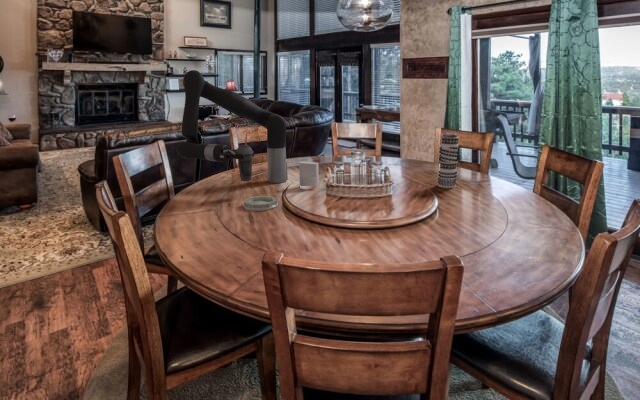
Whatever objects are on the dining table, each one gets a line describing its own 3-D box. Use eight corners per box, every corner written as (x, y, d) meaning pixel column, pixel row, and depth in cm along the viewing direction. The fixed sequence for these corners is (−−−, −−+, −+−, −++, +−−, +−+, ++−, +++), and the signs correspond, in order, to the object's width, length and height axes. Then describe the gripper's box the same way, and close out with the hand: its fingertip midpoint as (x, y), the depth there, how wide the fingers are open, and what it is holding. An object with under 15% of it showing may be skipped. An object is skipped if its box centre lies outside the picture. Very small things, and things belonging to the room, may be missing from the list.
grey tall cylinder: (458, 184, 213) (462, 132, 206) (455, 189, 205) (459, 135, 198) (438, 182, 217) (442, 131, 210) (435, 187, 209) (438, 134, 202)
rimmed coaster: (259, 199, 189) (258, 194, 189) (284, 204, 182) (284, 198, 181) (236, 207, 178) (235, 201, 178) (262, 213, 171) (262, 206, 170)
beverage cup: (238, 178, 196) (235, 133, 190) (254, 177, 196) (252, 132, 191) (236, 182, 189) (234, 135, 183) (253, 181, 189) (251, 135, 184)
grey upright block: (296, 188, 207) (296, 163, 204) (304, 184, 215) (304, 160, 212) (314, 190, 204) (313, 165, 200) (321, 186, 212) (321, 161, 208)
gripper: (206, 146, 188) (239, 149, 181) (226, 142, 200) (257, 144, 194) (207, 164, 190) (240, 167, 183) (227, 158, 202) (258, 160, 196)
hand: (248, 155), depth 189 cm, fingers closed on beverage cup, 7 cm apart
